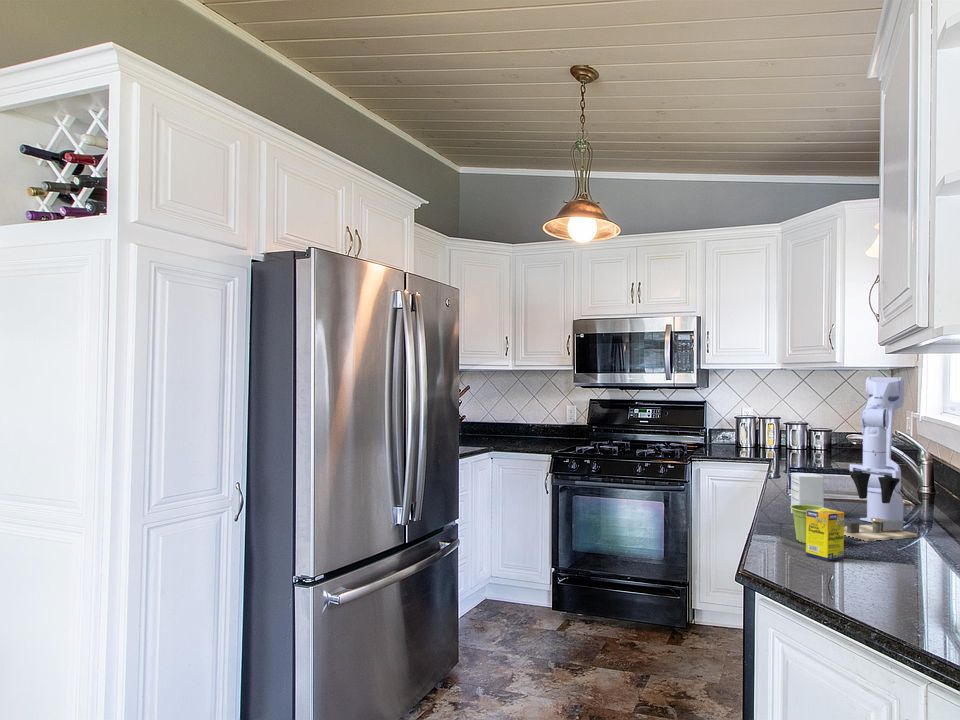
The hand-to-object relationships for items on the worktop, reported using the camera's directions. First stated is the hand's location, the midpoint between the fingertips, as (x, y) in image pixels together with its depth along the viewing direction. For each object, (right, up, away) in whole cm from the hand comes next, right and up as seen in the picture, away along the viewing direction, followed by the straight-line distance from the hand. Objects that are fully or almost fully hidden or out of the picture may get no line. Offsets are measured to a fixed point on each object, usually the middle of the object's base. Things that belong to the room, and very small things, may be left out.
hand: (874, 500), depth 194 cm
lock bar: (+1, -7, -4) cm, 8 cm away
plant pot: (-25, -8, -14) cm, 30 cm away
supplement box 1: (-9, -9, +20) cm, 24 cm away
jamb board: (-3, -8, -4) cm, 10 cm away
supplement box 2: (-28, -8, -30) cm, 42 cm away
